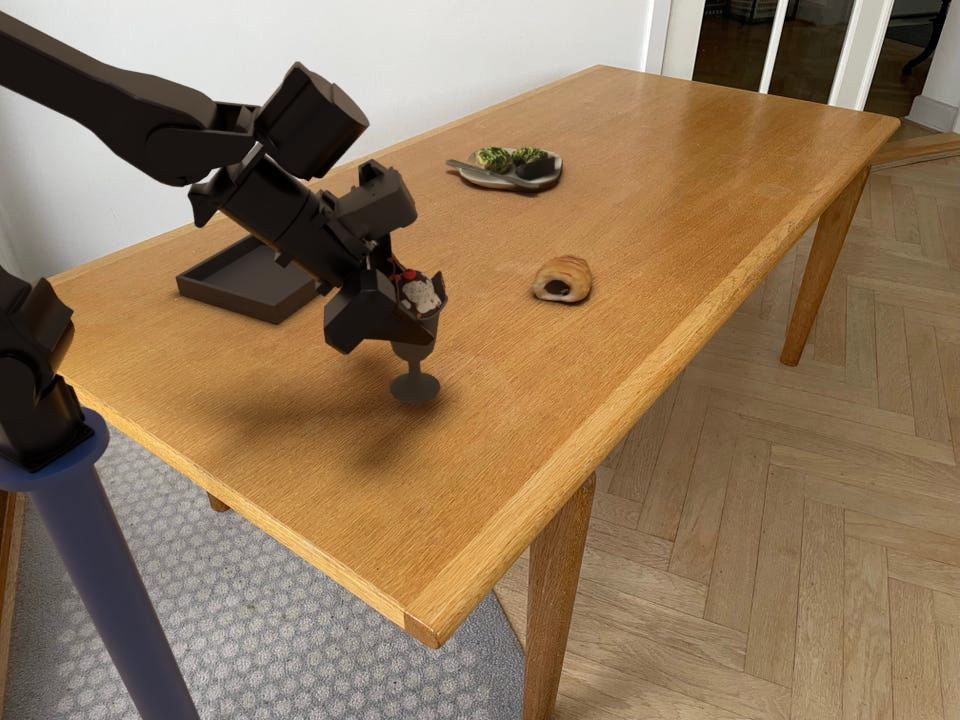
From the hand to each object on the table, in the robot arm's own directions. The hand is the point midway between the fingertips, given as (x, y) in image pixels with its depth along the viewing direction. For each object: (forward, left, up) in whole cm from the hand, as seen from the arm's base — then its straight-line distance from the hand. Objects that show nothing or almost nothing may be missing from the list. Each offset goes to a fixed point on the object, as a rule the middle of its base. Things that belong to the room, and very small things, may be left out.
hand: (427, 321), depth 67 cm
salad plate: (+58, +21, -9) cm, 63 cm away
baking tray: (+10, +31, -9) cm, 34 cm away
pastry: (+27, -2, -9) cm, 29 cm away
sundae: (-1, +1, -8) cm, 8 cm away
